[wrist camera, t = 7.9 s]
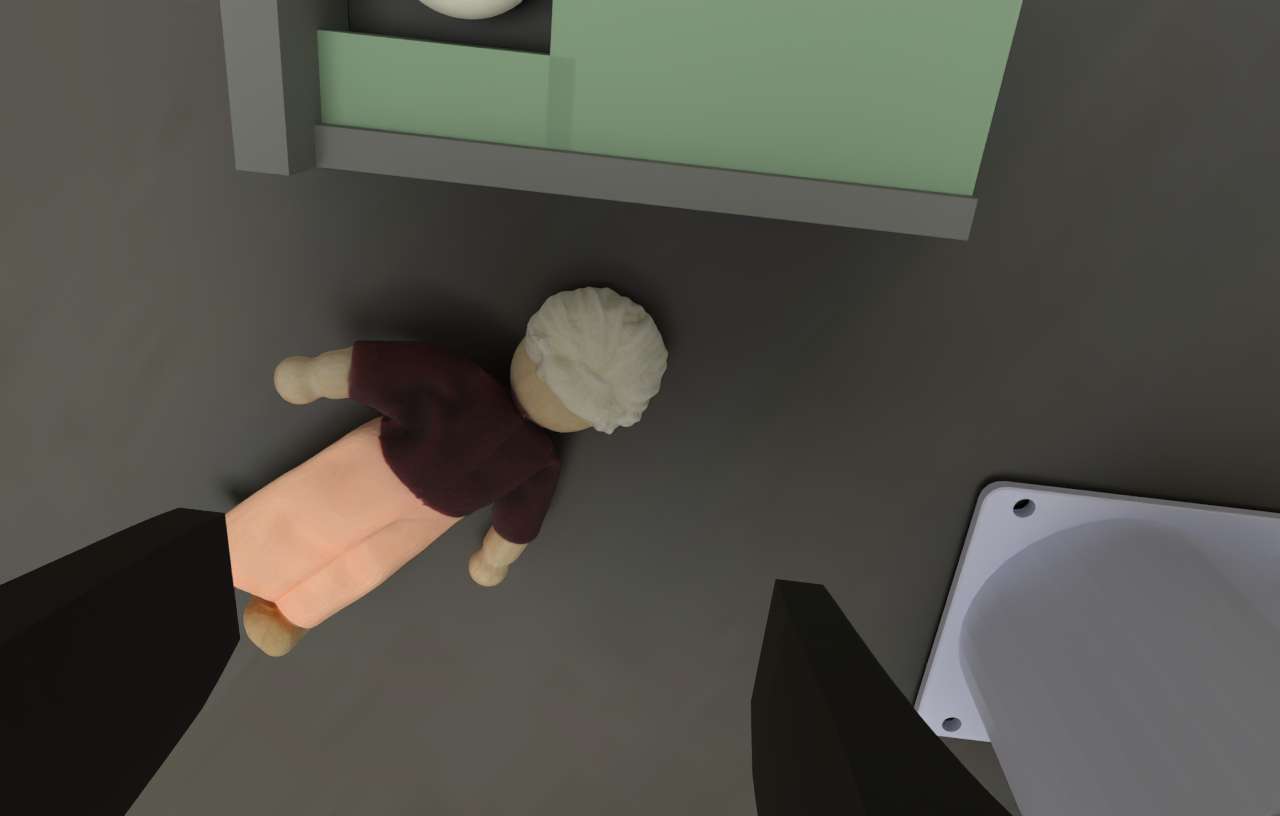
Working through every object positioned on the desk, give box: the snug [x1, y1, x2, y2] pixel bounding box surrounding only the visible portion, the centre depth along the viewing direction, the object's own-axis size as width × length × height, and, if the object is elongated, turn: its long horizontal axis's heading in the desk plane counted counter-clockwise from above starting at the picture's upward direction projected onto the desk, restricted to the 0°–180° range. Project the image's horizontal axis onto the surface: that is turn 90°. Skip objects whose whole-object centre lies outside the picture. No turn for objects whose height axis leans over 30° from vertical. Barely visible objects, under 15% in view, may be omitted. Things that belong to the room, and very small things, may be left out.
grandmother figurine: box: [225, 287, 668, 656], centre depth 20 cm, size 8×4×13 cm
